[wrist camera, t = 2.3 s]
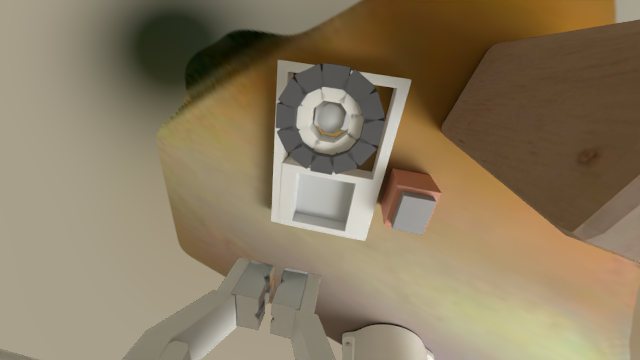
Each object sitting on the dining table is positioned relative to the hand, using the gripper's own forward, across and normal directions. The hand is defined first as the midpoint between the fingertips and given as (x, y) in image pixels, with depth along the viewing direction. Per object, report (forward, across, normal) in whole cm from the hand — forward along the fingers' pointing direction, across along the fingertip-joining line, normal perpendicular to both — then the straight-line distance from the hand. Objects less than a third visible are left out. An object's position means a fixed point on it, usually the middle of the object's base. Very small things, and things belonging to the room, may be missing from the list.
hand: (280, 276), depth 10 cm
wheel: (+15, 0, -4) cm, 15 cm away
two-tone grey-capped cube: (+23, -11, +6) cm, 26 cm away
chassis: (+23, 0, +3) cm, 23 cm away
